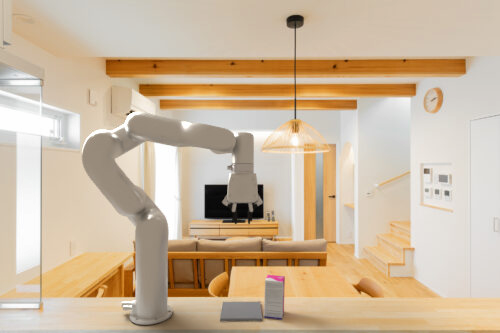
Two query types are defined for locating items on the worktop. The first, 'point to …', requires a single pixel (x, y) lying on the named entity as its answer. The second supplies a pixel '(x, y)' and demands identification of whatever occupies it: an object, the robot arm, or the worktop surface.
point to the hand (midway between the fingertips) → (242, 222)
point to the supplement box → (274, 297)
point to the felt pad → (241, 311)
